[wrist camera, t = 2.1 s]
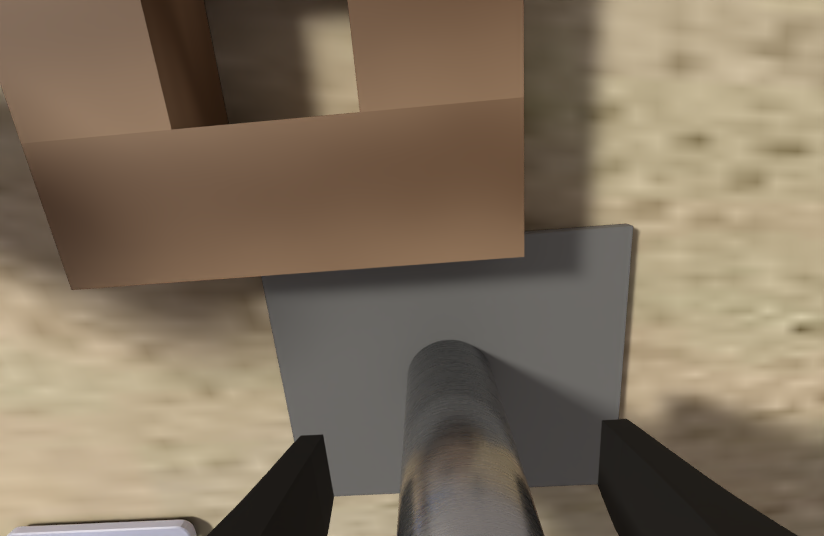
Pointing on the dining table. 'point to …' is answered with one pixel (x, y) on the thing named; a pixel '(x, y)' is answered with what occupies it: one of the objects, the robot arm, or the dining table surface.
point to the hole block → (266, 143)
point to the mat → (469, 322)
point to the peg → (460, 451)
